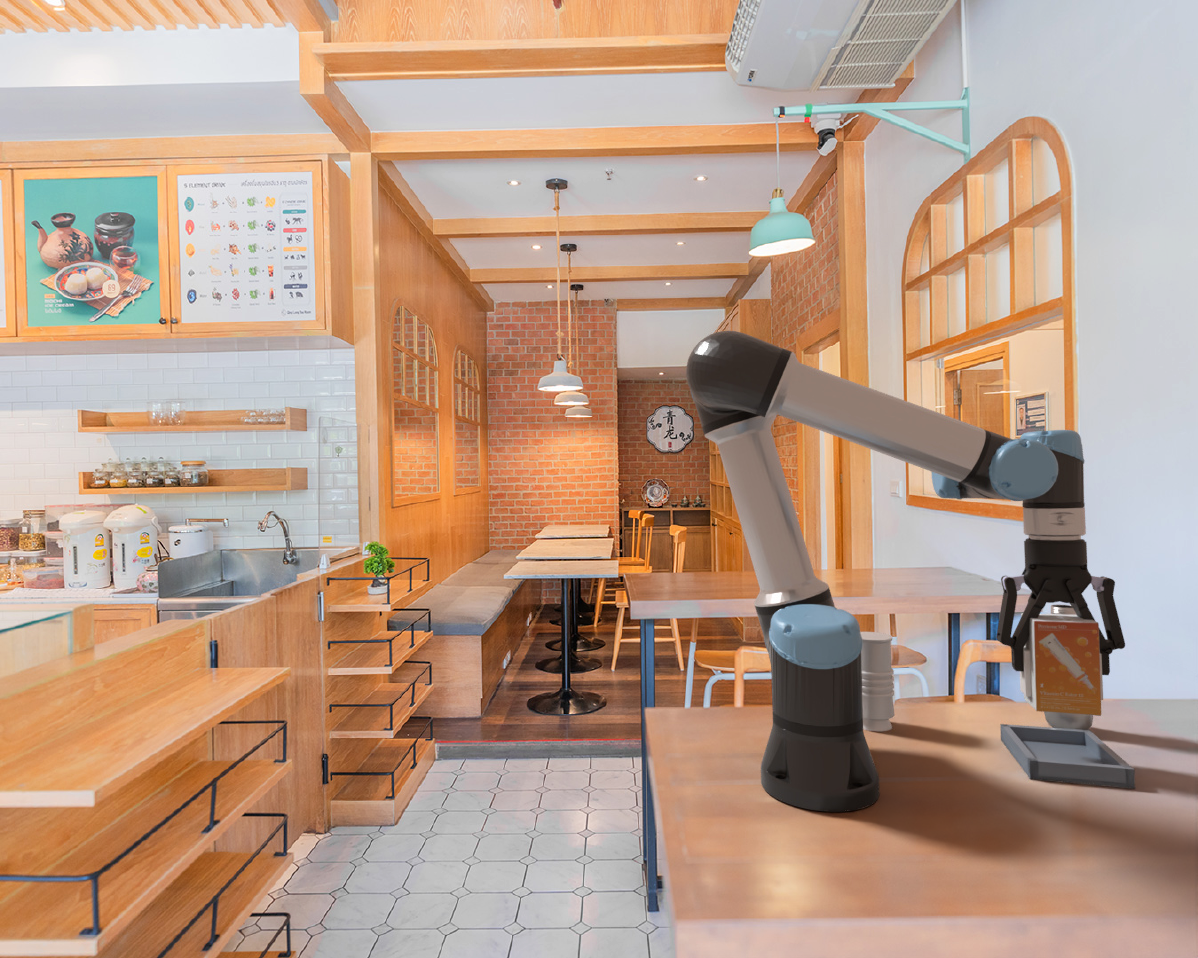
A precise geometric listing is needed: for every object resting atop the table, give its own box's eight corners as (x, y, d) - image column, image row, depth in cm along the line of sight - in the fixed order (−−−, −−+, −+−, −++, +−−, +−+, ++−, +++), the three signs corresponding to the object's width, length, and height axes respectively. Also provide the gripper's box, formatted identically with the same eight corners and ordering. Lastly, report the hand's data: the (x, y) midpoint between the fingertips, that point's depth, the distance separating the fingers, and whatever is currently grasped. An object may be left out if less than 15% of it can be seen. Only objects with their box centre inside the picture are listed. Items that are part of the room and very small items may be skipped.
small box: (1036, 712, 96) (1032, 620, 97) (1023, 699, 103) (1019, 612, 103) (1103, 716, 94) (1099, 621, 94) (1086, 702, 100) (1082, 613, 100)
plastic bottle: (1103, 736, 108) (1099, 609, 108) (1060, 737, 108) (1056, 610, 108) (1075, 722, 114) (1071, 602, 114) (1035, 723, 114) (1031, 603, 115)
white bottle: (842, 720, 118) (840, 633, 118) (878, 716, 119) (875, 630, 119) (867, 734, 111) (864, 641, 111) (904, 729, 113) (901, 638, 113)
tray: (1030, 779, 93) (1029, 760, 93) (1000, 739, 107) (1000, 723, 107) (1135, 788, 89) (1134, 769, 89) (1090, 746, 104) (1089, 730, 104)
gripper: (979, 539, 98) (985, 698, 98) (1153, 538, 92) (1160, 708, 92) (968, 536, 105) (973, 684, 105) (1128, 535, 99) (1134, 692, 99)
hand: (1060, 695), depth 98 cm, fingers closed on small box, 8 cm apart
